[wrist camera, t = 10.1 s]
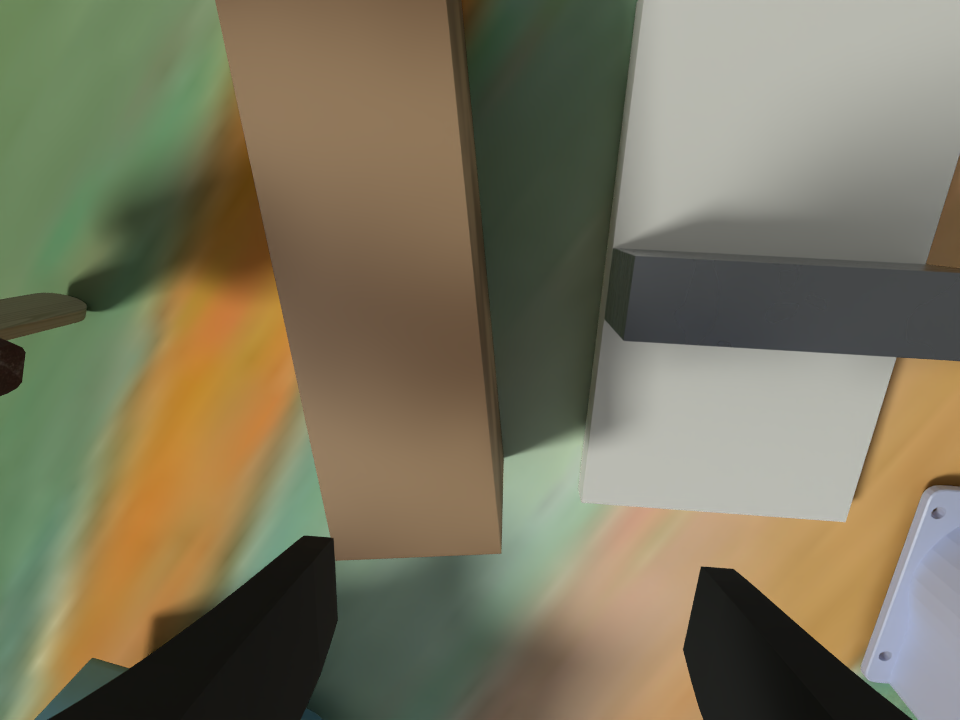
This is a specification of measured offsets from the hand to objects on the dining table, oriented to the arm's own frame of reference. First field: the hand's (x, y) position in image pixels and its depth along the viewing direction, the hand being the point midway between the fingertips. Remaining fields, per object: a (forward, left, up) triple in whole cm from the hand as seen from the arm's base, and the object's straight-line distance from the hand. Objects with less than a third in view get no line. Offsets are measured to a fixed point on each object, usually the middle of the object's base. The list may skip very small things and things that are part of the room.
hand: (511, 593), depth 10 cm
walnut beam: (+5, +4, -4) cm, 8 cm away
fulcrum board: (+5, -8, -10) cm, 14 cm away
